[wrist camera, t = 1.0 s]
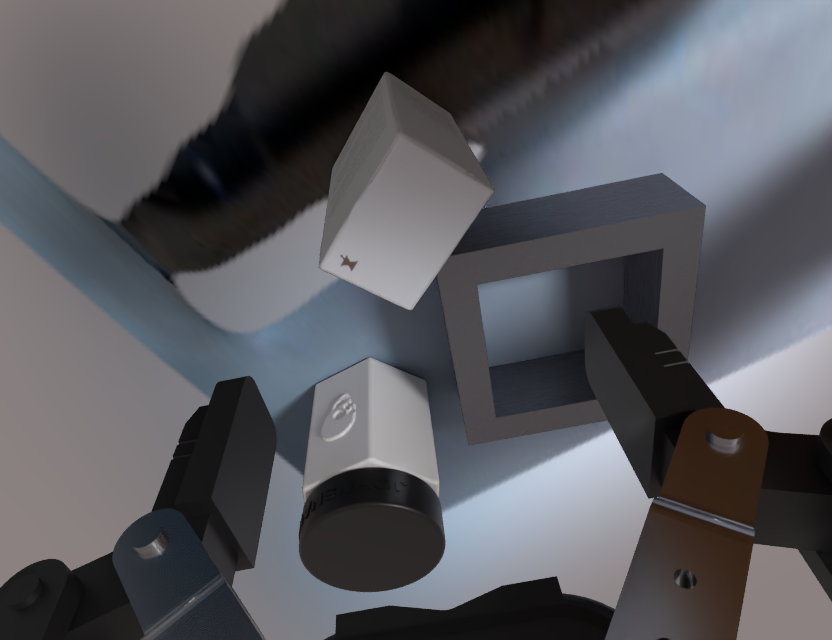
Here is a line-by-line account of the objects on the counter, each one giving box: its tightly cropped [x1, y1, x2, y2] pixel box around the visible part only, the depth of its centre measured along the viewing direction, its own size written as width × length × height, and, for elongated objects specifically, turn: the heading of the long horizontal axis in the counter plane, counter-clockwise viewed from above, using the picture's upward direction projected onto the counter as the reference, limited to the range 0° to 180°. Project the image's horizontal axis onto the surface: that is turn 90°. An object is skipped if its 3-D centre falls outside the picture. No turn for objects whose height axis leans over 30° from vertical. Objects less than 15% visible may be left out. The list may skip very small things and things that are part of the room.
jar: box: [299, 358, 445, 592], centre depth 35 cm, size 9×8×12 cm
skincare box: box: [319, 72, 494, 310], centre depth 25 cm, size 6×4×12 cm
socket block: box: [436, 173, 706, 445], centre depth 34 cm, size 14×14×5 cm
